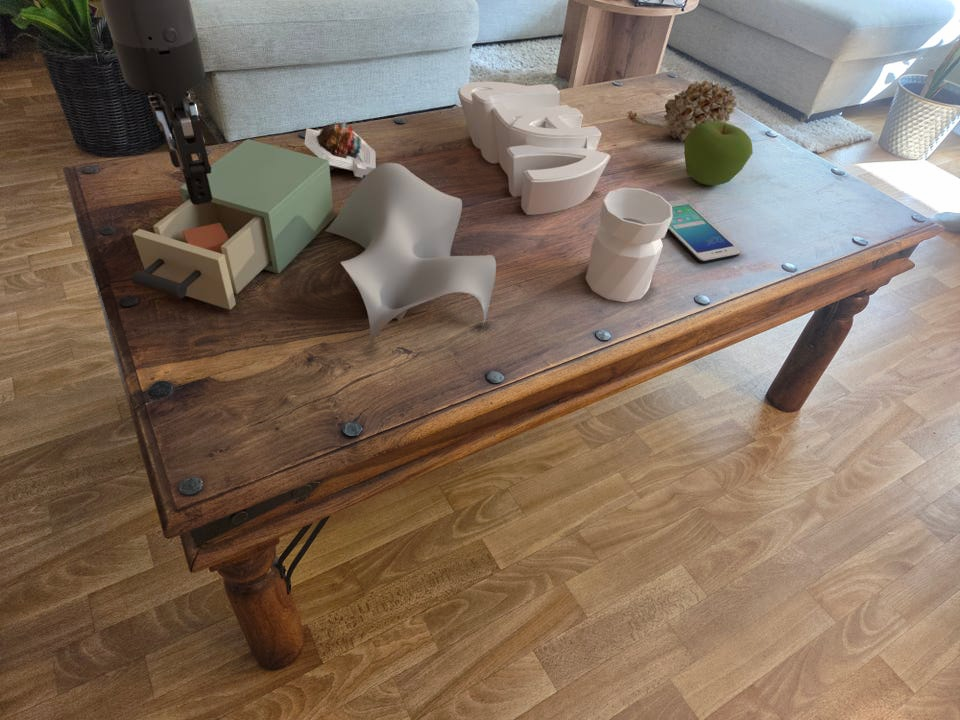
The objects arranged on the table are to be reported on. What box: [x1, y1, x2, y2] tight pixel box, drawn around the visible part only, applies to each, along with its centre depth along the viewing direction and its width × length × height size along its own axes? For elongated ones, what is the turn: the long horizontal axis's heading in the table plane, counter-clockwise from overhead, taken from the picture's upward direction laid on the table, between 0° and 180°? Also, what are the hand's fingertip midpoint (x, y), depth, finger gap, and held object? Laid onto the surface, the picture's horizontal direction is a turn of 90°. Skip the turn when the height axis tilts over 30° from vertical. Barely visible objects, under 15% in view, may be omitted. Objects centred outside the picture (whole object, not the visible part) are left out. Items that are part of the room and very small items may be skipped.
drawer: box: [131, 199, 271, 310], centre depth 80 cm, size 18×11×7 cm, turn 160°
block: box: [182, 223, 229, 254], centre depth 80 cm, size 4×4×4 cm
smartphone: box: [666, 199, 741, 264], centre depth 100 cm, size 8×1×15 cm
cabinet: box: [179, 138, 335, 275], centre depth 88 cm, size 15×13×9 cm
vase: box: [585, 187, 673, 303], centre depth 85 cm, size 9×9×12 cm
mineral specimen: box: [304, 121, 377, 179], centre depth 104 cm, size 12×12×7 cm
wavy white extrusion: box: [457, 81, 612, 216], centre depth 106 cm, size 35×16×10 cm, turn 18°
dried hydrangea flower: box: [625, 80, 737, 142], centre depth 119 cm, size 22×10×10 cm, turn 115°
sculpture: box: [324, 162, 497, 350], centre depth 84 cm, size 25×19×10 cm
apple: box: [683, 121, 754, 187], centre depth 108 cm, size 11×10×10 cm
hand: (192, 183), depth 74 cm, fingers open, 8 cm apart
